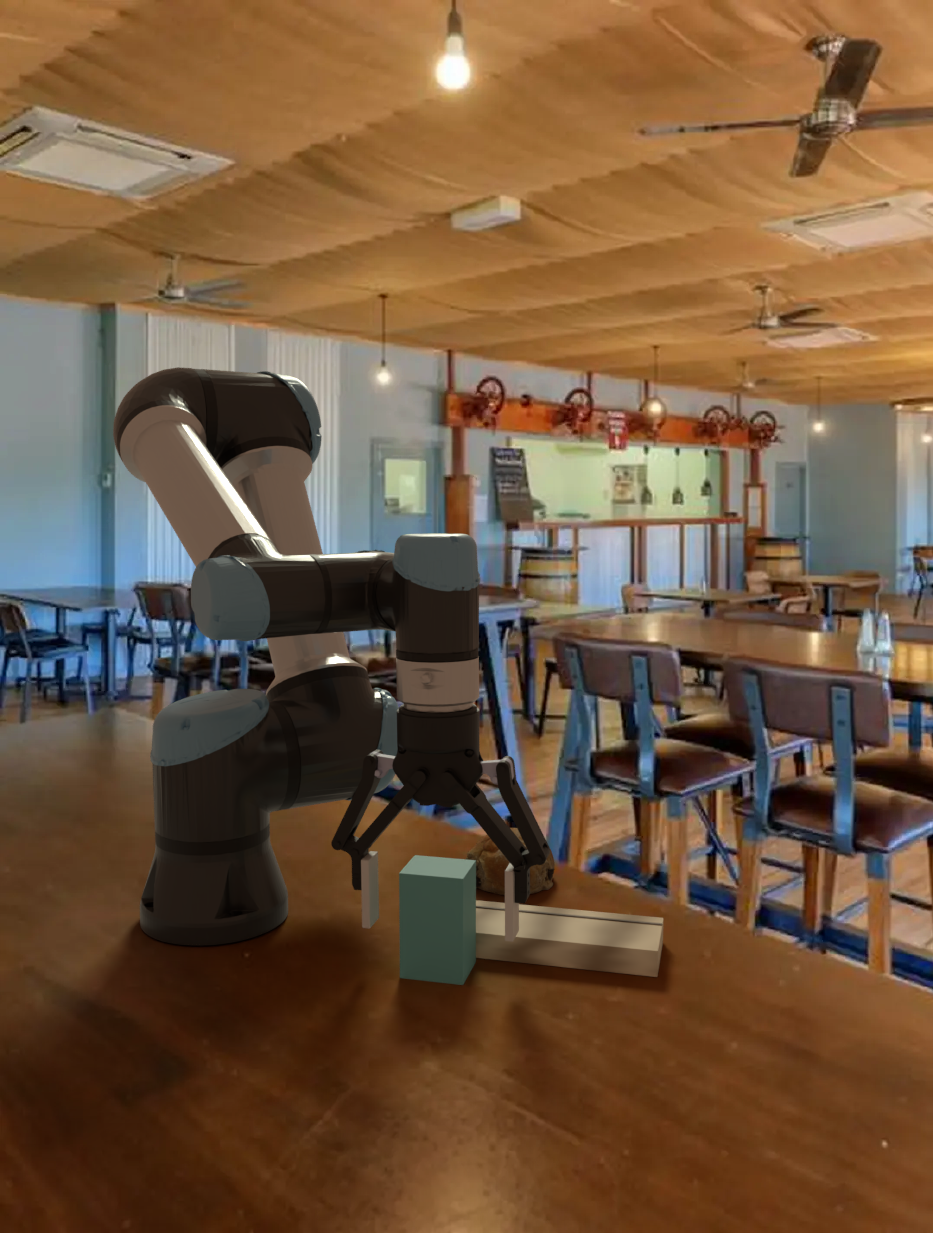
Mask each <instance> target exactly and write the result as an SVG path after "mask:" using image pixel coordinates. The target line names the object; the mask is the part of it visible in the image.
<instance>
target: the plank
mask: <svg viewBox="0 0 933 1233" xmlns="http://www.w3.org/2000/svg"><path fill="white" fill-rule="evenodd" d="M663 944H664V917H657V916H648V915H647V916H646V915H638V914H625V913H616V912H615V913H614V912H606V911H605V912H603V911H593V910H585V909H584V910H581V909H573V908H564V907H563V908H561V907H551V906H543V905H542V906H540V905H539V906H538V905H529V904H522V903H519V931H518V933H517V935H516V937H515V939H514V941H513V942H511V941H505V902H499V901H498V902H497V901H488V900H487V901H486V900H477V899H476V959H483V960H484V959H485V960H493V961H503V962H512V963H513V962H514V963H521V964H522V963H523V964H533V965H540V966H549V967H550V966H551V967H561V968H568V969H578V970H587V971H597V972H606V973H614V974H615V973H616V974H622V975H623V974H625V975H635V976H643V977H651V978H652V977H654V978H658V976H659V969H660V965H661V964H660V963H661V957H662V952H663V951H662V950H663Z"/></svg>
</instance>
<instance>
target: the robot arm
mask: <svg viewBox="0 0 933 1233" xmlns="http://www.w3.org/2000/svg"><path fill="white" fill-rule="evenodd" d="M321 421H322V420H321V415H320V412H319V408H318V404H317V402H316V399H315V398H314V396H313V394H312V392H311V391H310V389H309V388H308V386H306V385H305V383H304V382H302V381H301V380H300V379H298V378H297V377H294V376H292V375H288V374H287V375H286V374H278V373H274V372H271V371H265V370H263V371H262V370H261V371H258V372H245V371H231V370H220V369H219V370H218V369H217V370H216V369H203V368H201V369H200V368H192V367H173V368H171V367H170V368H167V369H162V370H159V371H156V372H153V373H151V374H149V375H147V376H146V377H145V378H143V379H142V380H139V381H138V382H137V383H135V384H134V385H133V386H132V387H131V388H130V389H129V391H127V393H126V394H125V395H124V397H123V398H122V400H121V402H119V405H118V406H117V411H116V412H115V416H114V419H113V429H112V430H113V432H112V433H113V434H112V435H113V442H114V446H115V449H116V451H117V454H118V457H119V458H120V460H121V461H122V463H123V465H124V466H125V468H126V470H127V471H128V472H129V473H130V475H132V476H133V477H134V478H136V479H138V480H139V481H141V482H144V483H146V485H147V487H148V489H149V491H150V492H151V494H152V496H153V497H154V498H155V501H156V502H157V504H158V506H159V507H160V509H161V511H162V512H163V514H164V515H165V517H166V519H167V521H168V522H169V524H170V526H171V528H172V530H173V531H174V533H175V534H176V536H177V537H178V539H179V542H181V544H182V547H183V548H184V550H185V551H186V553H187V554H188V556H189V558H190V559H191V561H192V563H193V565H194V566H195V569H194V571H193V574H192V577H191V583H190V604H191V609H192V611H193V613H194V621H195V622H194V623H195V624H196V627H197V628H198V630H199V631H200V633H201V634H202V635H203V636H204V637H206V638H207V639H210V640H213V641H233V640H234V641H237V640H238V641H240V642H251V641H256V640H263V639H266V641H267V646H268V651H269V654H270V659H271V662H272V668H273V672H274V676H275V677H274V679H273V680H272V681H271V683H270V685H268V688H267V689H266V691H265V693H264V692H263V691H261V690H258V689H254V688H235V689H230V690H227V689H219V690H213V691H207V692H202V693H199V694H198V693H197V694H194V695H190V696H187V697H184V698H182V699H179V700H176V701H175V702H172V703H170V704H169V705H167V706H165V707H164V708H162V709H161V710H160V711H159V712H158V713H157V714H156V716H155V718H154V720H153V723H152V734H151V735H152V736H151V737H152V739H151V751H150V755H149V756H150V758H149V759H150V762H151V763H152V782H153V783H152V785H153V789H152V790H153V791H152V792H153V812H154V814H153V816H154V819H153V820H154V836H155V837H154V841H155V842H154V843H155V844H154V845H155V847H154V848H155V850H154V854H153V858H152V861H151V865H150V867H149V871H148V873H147V874H148V875H147V878H146V882H145V885H144V887H143V891H142V894H141V897H140V901H139V902H140V903H139V924H140V928H141V930H142V932H144V933H145V934H146V935H147V936H149V937H151V938H152V939H154V940H158V941H160V942H164V943H169V944H174V945H179V946H180V945H182V946H215V945H225V944H231V943H236V942H241V941H245V940H249V939H253V938H255V937H258V936H261V935H263V934H265V933H268V932H270V931H272V930H274V929H275V928H277V927H279V926H280V925H281V924H282V923H283V922H284V921H285V920H286V919H287V917H288V914H289V892H288V887H287V885H286V883H285V879H284V877H283V874H282V870H281V869H280V865H279V863H278V860H277V857H276V855H275V852H274V849H273V846H272V843H271V835H270V834H271V832H270V831H271V830H270V827H271V826H270V825H271V824H270V818H271V813H273V812H279V811H283V810H284V811H285V810H292V809H296V808H304V807H309V806H310V807H311V806H315V805H322V804H327V803H333V802H338V801H344V800H345V801H350V802H349V804H348V806H347V808H346V811H345V813H344V815H343V817H342V818H341V821H340V823H339V825H338V827H337V829H336V832H335V834H334V836H333V838H332V840H331V844H330V845H331V847H332V849H334V850H335V851H343V852H345V853H347V854H348V855H349V856H350V859H351V860H350V861H351V885H352V888H353V890H355V891H361V927H362V929H371V928H372V926H374V924H376V922H377V921H378V919H379V918H380V903H379V902H380V896H379V895H380V894H379V891H380V890H379V887H380V884H379V852H378V851H374V850H373V851H372V850H369V849H370V848H372V846H373V844H374V843H375V842H376V841H377V840H378V839H379V837H380V836H381V835H382V834H383V833H384V832H385V831H386V829H387V828H388V827H389V826H390V825H391V824H392V822H394V820H395V819H396V818H397V817H398V815H399V814H400V813H401V812H402V811H403V809H404V808H405V807H406V806H407V805H408V804H409V803H410V802H411V800H414V801H415V802H417V803H418V804H419V806H423V807H429V806H434V805H437V806H441V807H444V808H454V806H457V805H460V806H461V807H462V808H463V809H464V811H465V812H466V813H467V814H469V815H471V817H473V820H475V821H476V823H478V825H479V827H480V828H481V829H482V830H483V831H484V832H485V834H486V835H488V836H489V837H490V839H491V840H492V841H493V842H494V843H495V845H496V846H497V847H498V848H499V850H500V851H501V852H502V853H503V855H504V856H505V857H506V858H507V860H508V861H509V862H510V863H509V865H508V867H507V868H506V870H505V895H504V903H505V941H511V942H513V941H514V939H515V937H516V935H517V933H518V931H519V904H522V905H526V902H527V900H528V899H529V897H530V867H531V866H534V865H542V864H544V863H545V861H546V859H547V857H548V856H549V854H550V849H551V848H550V846H549V844H548V841H547V839H546V837H545V835H544V834H543V831H542V829H541V828H540V825H539V823H538V821H537V819H536V817H535V815H534V813H533V811H532V809H531V806H530V805H529V802H528V801H527V798H526V797H525V795H524V792H523V791H522V789H521V786H520V785H519V782H518V781H517V775H516V774H517V773H516V764H515V760H514V758H513V757H512V756H509V755H506V756H504V757H502V758H501V759H493V760H491V759H489V760H484V759H483V757H482V755H481V751H480V708H479V707H478V706H477V705H476V704H475V703H474V702H475V701H477V700H478V699H480V662H479V661H480V660H479V657H480V656H479V647H480V642H479V640H480V639H479V638H480V637H479V636H480V629H479V628H480V582H481V577H480V575H481V574H480V573H479V569H478V568H479V566H478V564H479V563H478V546H477V543H476V541H475V539H474V538H473V537H472V536H471V535H469V534H466V533H447V532H446V533H445V532H444V533H442V532H441V533H437V532H436V533H431V532H430V533H407V534H401V535H400V536H399V537H398V538H397V539H396V540H395V543H394V550H393V552H388V551H384V550H382V549H380V550H379V549H373V550H364V549H363V550H358V551H355V552H345V553H342V552H341V553H340V552H339V553H323V549H322V545H321V541H320V537H319V534H318V531H317V530H318V529H317V526H316V522H315V519H314V515H313V510H312V507H311V502H310V499H309V496H308V491H307V488H306V484H305V482H306V481H307V479H308V477H309V476H310V475H311V473H312V471H313V470H312V469H313V464H314V463H315V462H316V460H317V458H318V456H319V454H320V452H321V451H320V450H321V446H322V434H321V432H320V429H321V427H322V423H321ZM376 630H377V631H378V630H379V631H382V630H383V631H389V632H395V668H396V669H395V670H396V677H395V678H396V699H397V700H398V701H399V702H400V703H402V704H401V705H400V706H399V705H398V702H397V700H396V699H395V697H394V696H393V695H392V694H391V692H390V691H388V690H387V689H382V688H380V687H374V688H372V684H371V680H370V677H369V673H368V669H367V668H366V667H365V666H364V665H362V664H361V663H359V662H357V661H355V660H353V659H352V658H350V654H349V648H348V646H347V645H348V644H347V642H346V638H345V633H347V632H348V633H349V632H362V631H376ZM483 775H487V776H488V778H490V781H491V783H492V784H494V785H496V786H497V787H498V791H499V794H500V795H501V798H502V800H503V802H504V804H505V807H506V808H507V810H508V813H509V815H510V817H511V818H512V821H513V823H514V824H515V828H517V829H518V831H519V833H520V835H521V837H522V839H523V841H524V843H525V845H526V847H527V848H526V847H525V846H524V845H523V844H522V842H521V841H520V840H519V839H518V837H517V836H516V835H515V834H514V832H513V831H512V830H511V829H510V828H511V827H510V826H509V825H508V824H507V823H506V821H505V820H504V818H502V816H501V815H500V814H499V813H498V811H497V810H496V809H495V808H494V806H493V805H492V804H491V802H490V801H489V800H488V799H487V795H486V793H484V792H483V789H481V787H480V786H479V785H478V782H479V781H480V779H481V777H482V776H483ZM395 776H396V777H397V778H398V779H399V781H400V783H401V785H403V786H402V787H401V788H400V789H399V790H398V791H397V793H396V794H395V795H394V796H393V798H391V800H390V801H389V803H388V804H387V805H386V806H385V808H384V809H383V810H382V811H381V812H380V813H379V814H378V816H377V817H376V818H375V819H374V820H373V821H372V823H370V825H369V826H368V827H367V829H365V831H364V832H362V834H361V835H360V837H358V836H356V835H355V833H356V831H357V829H358V828H359V825H360V823H361V821H362V819H363V817H364V815H365V813H366V810H367V808H368V807H369V804H370V802H371V800H372V798H373V796H374V794H377V793H379V792H381V791H384V790H385V789H386V788H387V787H388V786H389V785H390V784H391V782H392V781H393V779H394V778H395Z"/></svg>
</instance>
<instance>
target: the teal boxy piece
mask: <svg viewBox="0 0 933 1233" xmlns="http://www.w3.org/2000/svg"><path fill="white" fill-rule="evenodd" d="M398 890H399V891H398V892H399V893H398V898H399V899H398V900H399V901H398V902H399V904H398V905H399V906H398V908H399V909H398V910H399V915H398V917H399V921H398V922H399V924H398V925H399V978H400V979H407V980H415V981H422V982H432V983H440V984H451V985H459V986H460V985H461V986H464V984H465V983H466V982H467V981H466V980H467V979H468V977H469V975H470V974H471V972H472V970H473V969H474V966H475V964H476V962H477V958H476V900H477V888H476V860H466V858H465V859H464V858H452V857H444V856H443V857H441V856H440V857H439V856H431V855H430V856H429V855H428V856H427V855H418V854H415V855H414V856H412V858H411V859H410V860H409V861H408V862H407V864H405V866H404V867H403V868H402V869H401V870H400V872H398Z"/></svg>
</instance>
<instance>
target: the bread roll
mask: <svg viewBox="0 0 933 1233" xmlns="http://www.w3.org/2000/svg"><path fill="white" fill-rule="evenodd" d="M510 829H511V830H512V831H513V832H514V834H515V835H516V836H517V837H518V839H519V840H520V841H521V842H522V844H523V845H524V846H525V847H526V845H525V843H524V841H523V839H522V837H521V835H520V833H519V831H518V829H517V827H510ZM526 848H527V847H526ZM465 859H466V860H476V889H479V890H482V891H484V892H488V893H493V894H496V895H499V896H500V895H501V896H505V870H506V868H507V867H508V865H509V863H510V862H509V861H508V860H507V858H506V857H505V856H504V855H503V853H502V852H501V851H500V850H499V848H498V847H497V846H496V845H495V843H494V842H493V841H492V840H491V839H490V837H489V836H488V835H487V834H486V835H484V836H482V837H481V838H480V839H479V840H478V841H477V842H476V844H475V845H474V846H473V847H472V848H471V849H470V850H469V851H467V853H466V857H465ZM554 873H555V859H554V855H553V851H552V848H550V854H549V856H548V857H547V859H546V861H545V863H544V864H542V865H534V866H531V867H530V894H531V895H532V894H536V893H539V892H541V891H545V890H546V891H549V890H550V889H551V888H552V887H553V885H554V882H552V880H553V878H554V877H553V876H554ZM530 894H529V895H530Z"/></svg>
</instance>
